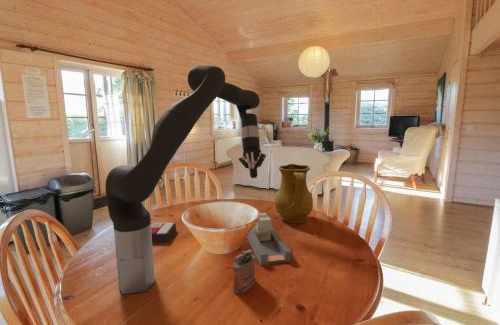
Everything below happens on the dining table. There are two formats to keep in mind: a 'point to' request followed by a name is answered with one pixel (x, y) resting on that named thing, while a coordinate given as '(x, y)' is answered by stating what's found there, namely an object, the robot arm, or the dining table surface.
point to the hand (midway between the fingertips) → (253, 177)
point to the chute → (269, 249)
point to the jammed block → (263, 228)
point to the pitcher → (293, 194)
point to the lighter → (244, 272)
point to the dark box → (162, 232)
